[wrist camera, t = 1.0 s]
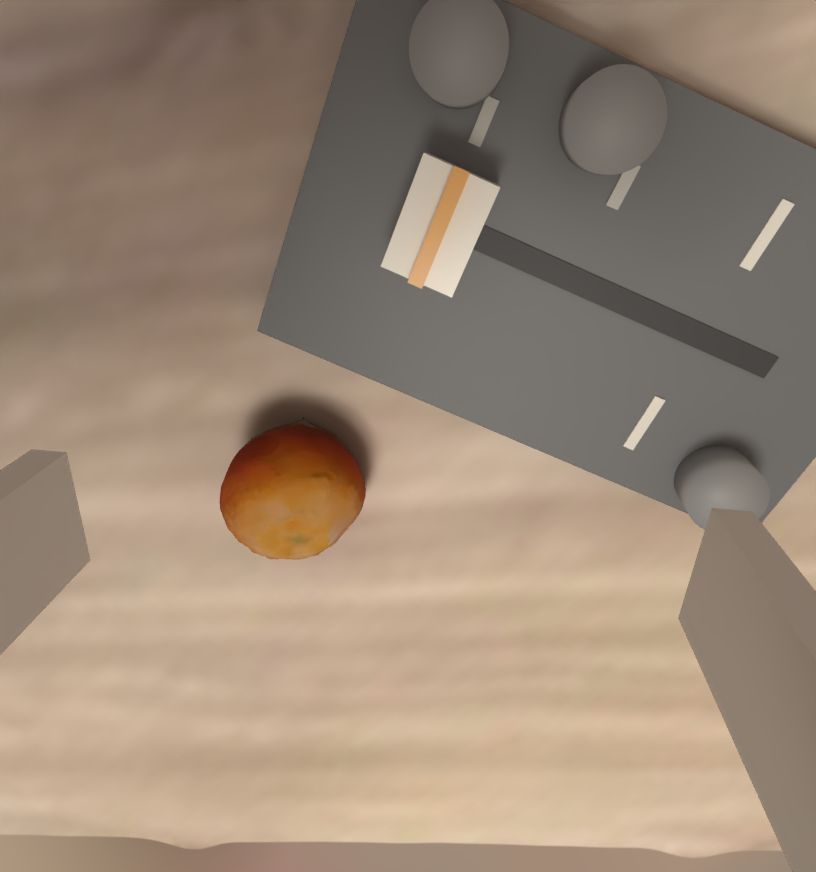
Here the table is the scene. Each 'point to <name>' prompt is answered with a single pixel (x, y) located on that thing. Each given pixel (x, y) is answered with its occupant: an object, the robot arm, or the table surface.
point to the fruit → (292, 492)
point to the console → (566, 254)
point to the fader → (439, 224)
